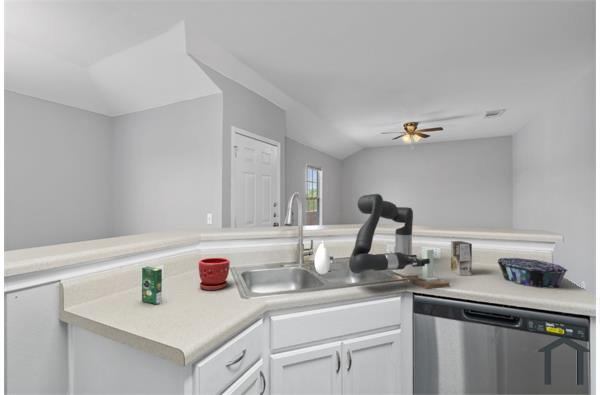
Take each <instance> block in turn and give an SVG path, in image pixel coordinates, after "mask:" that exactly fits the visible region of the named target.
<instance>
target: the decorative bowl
mask: <svg viewBox="0 0 600 395" xmlns="http://www.w3.org/2000/svg"><path fill="white" fill-rule="evenodd" d="M497 264H498V265H499V269H500V270H501V272H502V275H503V278H504V280H506V281H508V282H511V283H514V284H517V285H522V286H527V287H534V288H543V287H547V288H548V287H549V289H553V288H552V287H554V288H559V286H560V284H561V282H562V280H563V278H564V276H565V274H566V273H567V272H568V269H567V268H565V267H564V266H562V265H559V264H556V263H554V262H547V261H544V260H539V259H528V258H519V257H501V258H498V259H497Z"/></svg>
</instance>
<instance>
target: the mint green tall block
mask: <svg viewBox="0 0 600 395" xmlns="http://www.w3.org/2000/svg"><path fill="white" fill-rule="evenodd" d="M421 251H422V252H421V255H422V256H421V259H430V263H429V264H425V266H421V274H422V275H421V274H417V275H418V278H420V279H423V280H425V281H428V282H432V281H438V279H439V278H436V277H434V249H432V248H422V249H421Z"/></svg>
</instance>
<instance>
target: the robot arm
mask: <svg viewBox="0 0 600 395" xmlns="http://www.w3.org/2000/svg"><path fill="white" fill-rule="evenodd" d="M357 208H358V210H359V211H360V212H361V213H362V214H364V215H370V216H369V217H368V218H367V220H366V221H365V223H364V224H363V225H362V226H361V227H360V228H359V230H358V232H357V234H356V239H355V244H354V247H353V249H352V252H351V255H350V257H349V261H348V267H349V270H350V272H352V274H356V275H358V274H361V273H363V272H365V271H368V270H373V271H377V272H379V271H398V270H404V269H405V268H406V266H408V267H409V266H410V267H411V266H412V267H414V268H415V267H422V266H425V264H429V263H430V259H422V258H418V256H417V254H413V222H414V220H413V219H414V211H413V209H412V208H411V207H406V206H404V207H403V206H402V207H399V206H397V205H396V204H394V203H393V202H391V201H388V200H384V198H383V196H382V195H381V194H379V193H374V194H372V193H371V194H365V195H362V196H360V197H359V199H358V201H357ZM381 218H383V219H386V220H391V221H393V222H394V223H400V224H404V225H403V226H402V227H399V228H396V229H395V233H394V234H395V237H394V238H395V239H394V240H395V241H394V242H395V246H394V252H385V253H378V254H377V253H375V254H373V253H370V252H371V250H372V245H373V239H374V235H375V230H376V228H377V226H378V223H379V221H380V219H381Z"/></svg>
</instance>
